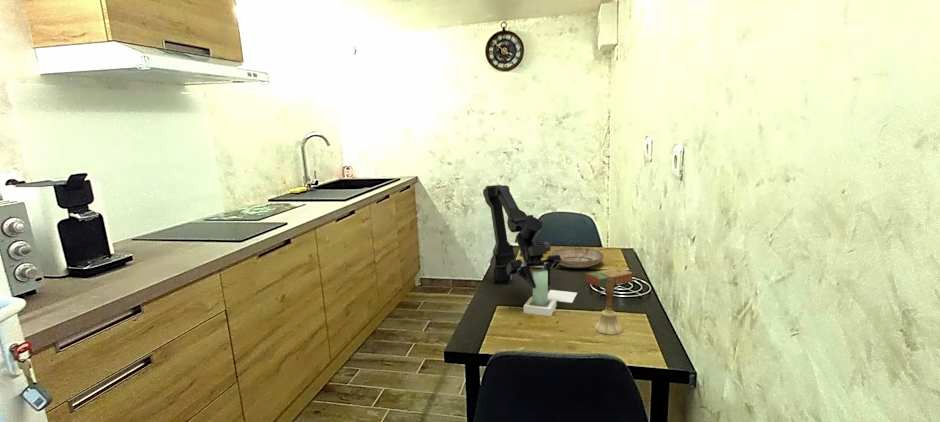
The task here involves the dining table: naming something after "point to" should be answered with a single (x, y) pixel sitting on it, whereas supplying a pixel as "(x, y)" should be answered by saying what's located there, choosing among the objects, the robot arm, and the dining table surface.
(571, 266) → the ceramic bowl
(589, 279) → the carton
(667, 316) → the dining table surface
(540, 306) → the shallow square tray
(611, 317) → the hand bell
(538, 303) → the light green piece
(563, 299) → the cream panel
